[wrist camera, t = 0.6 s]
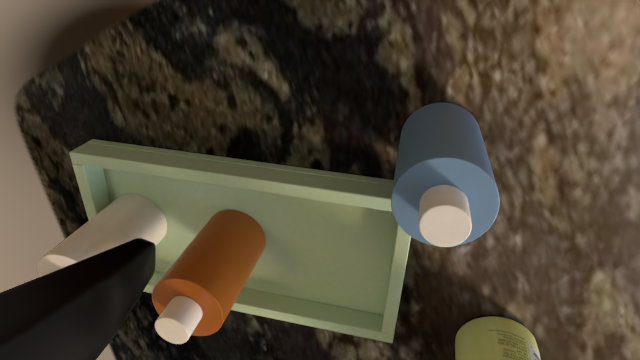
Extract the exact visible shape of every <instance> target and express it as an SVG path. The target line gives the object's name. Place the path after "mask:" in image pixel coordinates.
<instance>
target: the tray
mask: <svg viewBox="0 0 640 360" xmlns="http://www.w3.org/2000/svg"><path fill="white" fill-rule="evenodd" d="M69 154H70V158H71V161H72V163H73V164H72V165H73V169H74V172H75V175H76V179H77V182H78V186H79V189H80V193H81V196H82V199H83V203H84V206H85V210H86V213H87V217H88V220H90V219H92V218H93V217H94V216H95V215H97V214H98V213H99V212H101V211H102V210H103V209H104V208H106V207H107V206H108V205H109V204H111V203H112V202H113V201H115V200H116V199H117V198H118V197H120V196H122V195H124V194H138V195H141V196H144V197H146V198H147V199H149V200H151V201H152V202H153V203H155V204H156V205H157V206H158V207H159V209H160V210H161V211H162V213H163V214H164V216H165V219H166V222H167V232H166V235H165V236H164V238H163V239H162V240H161V241H160V242H159V243H158V244H157V245H156V261H155V271H154V274H153V276H152V278H151V279H150V281H149V283H148V284H147V286H146V287H145V289H144V291H143V292H148V293H152V291H153V289H154V287H155V285H156V284H157V283H158V281H159V280H160V279H161V278H162V277H163V275H164V274H165V273H166V272H167V271H168V269H169V268H170V267H171V266H172V264H173V263H174V262H175V261H176V260H177V258H178V257H179V256H180V255H181V254H182V252H183V251H184V250H185V249H186V248H187V246H188V245H189V244H190V243H191V241H192V240H193V239H194V238H195V237H196V235H197V234H198V233H199V232H200V231H201V229H202V228H203V227H204V226H205V225H206V223H207V222H208V221H209V220H210V218H211V217H212V216H213V215H214V214H216V213H217V212H219V211H222V210H230V209H231V210H238V211H241V212H244V213H246V214H248V215H249V216H251V217H252V218H253V219H255V220H256V221H257V222H258V223H259V225H260V226H261V228H262V229H263V231H264V234H265V238H266V245H265V249H264V251H263V253H262V254H261V256H260V258H259V260H258V261H257V263H256V265H255V267H254V269H253V270H252V272H251V274H250V276H249V278H248V279H247V281H246V283H245V285H244V287H243V288H242V290H241V292H240V294H239V296H238V297H237V299H236V301H235V303H234V305H233V306H232V308H231V310H235V311H239V312H244V313H249V314H254V315H259V316H263V317H268V318H273V319H278V320H283V321H287V322H292V323H297V324H302V325H307V326H312V327H316V328H321V329H326V330H331V331H336V332H340V333H345V334H350V335H355V336H360V337H364V338H369V339H374V340H379V341H384V342H388V343H392V342H393V338H394V332H395V326H396V321H397V315H398V309H399V303H400V298H401V292H402V286H403V280H404V275H405V269H406V263H407V257H408V252H409V246H410V240H411V236H410V235H408V234H407V233H406V232H405V231H404V230H403V229H402V228H401V227H400V226H399V224H398V223H397V221H396V220H395V218H394V215H393V212H392V209H391V194H392V188H393V181H394V180H389V179H381V178H374V177H367V176H360V175H352V174H345V173H338V172H330V171H323V170H316V169H308V168H301V167H294V166H286V165H279V164H272V163H264V162H257V161H250V160H242V159H235V158H228V157H220V156H213V155H206V154H198V153H191V152H184V151H176V150H169V149H162V148H154V147H147V146H140V145H132V144H125V143H118V142H111V141H103V140H96V139H92V140H90V141H88V142H87V143H85V144H83V145H81V146H80V147H78V148H76V149H74V150H72V151H70V152H69Z"/></svg>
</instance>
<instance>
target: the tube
mask: <svg viewBox="0 0 640 360" xmlns="http://www.w3.org/2000/svg"><path fill="white" fill-rule="evenodd" d="M455 359H456V360H541V359H540V355H539V351H538V347H537V343H536V340H535V338H534V336H533V335H532V333H531V332H530V331H529V330H528V329H527V328H526V327H524V326H523V325H521V324H520V323H518V322H516V321H513V320H511V319H508V318H502V317H493V316H488V317H481V318H476V319H473V320H471V321H469V322H467V323H466V324H464V325H463V326H462V327H461V328H460V329H459V331H458V332H457V334H456V338H455Z"/></svg>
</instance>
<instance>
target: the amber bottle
mask: <svg viewBox="0 0 640 360" xmlns="http://www.w3.org/2000/svg"><path fill="white" fill-rule="evenodd" d="M265 245H266V238H265V234H264V231H263V229H262V228H261V226H260V225H259V223H258V222H257V221H256V220H255V219H253V218H252V217H251V216H249V215H248V214H246V213H244V212H241V211H238V210H231V209H230V210H222V211H219V212H217V213H216V214H214V215H213V216H212V217H211V218H210V220H209V221H208V222H207V223H206V225H205V226H204V227H203V228H202V229H201V231H200V232H199V233H198V234H197V235H196V237H195V238H194V239H193V240H192V241H191V243H190V244H189V245H188V246H187V248H186V249H185V250H184V251H183V252H182V254H181V255H180V256H179V257H178V258H177V260H176V261H175V262H174V263H173V264H172V266H171V267H170V268H169V269H168V271H167V272H166V273H165V274H164V275H163V277H162V278H161V279H160V280H159V281H158V283H157V284H156V285H155V287H154V289H153V291H152V301H153V305H154V307H155V309H156V311H157V312H158V314H159V315H160V316H159V317H158V319H157V320H156V322H155V329H156V331H157V333H158V334H159V335H160V336H161V337H162V338H163V339H165V340H166V341H168V342H171V343H174V344H183V343H185V342H187V340H188V339H189V337H190V336H191V335H195V336H207V335H211V334H213V333H215V332H217V331H218V330H219V329H220V328H221V326H222V324H223V323H224V321H225V319H226V317H227V315H228V314H229V312H230V310H231V308H232V306H233V305H234V303H235V301H236V299H237V297H238V296H239V294H240V292H241V290H242V288H243V287H244V285H245V283H246V281H247V279H248V278H249V276H250V274H251V272H252V270H253V269H254V267H255V265H256V263H257V261H258V260H259V258H260V256H261V254H262V253H263V251H264V249H265Z"/></svg>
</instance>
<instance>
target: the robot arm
mask: <svg viewBox="0 0 640 360" xmlns="http://www.w3.org/2000/svg"><path fill="white" fill-rule="evenodd" d="M155 261H156V246H155V244H154V243H153V242H151V241H148V240H145V239H142V238H136V239H133V240H131V241H128V242H126V243H123V244H121V245H118V246H116V247H113V248H111V249H109V250H106V251H104V252H101V253H99V254H96V255H94V256H91V257H89V258H86V259H84V260H81V261H79V262H76V263H74V264H71V265H69V266H66V267H64V268H61V269H59V270H56V271H54V272H51V273H49V274H46V275H44V276H41V277H39V278H36V279H34V280H31V281H29V282H26V283H24V284H22V285H19V286H16V287H14V288H12V289H9V290H6V291H4V292H1V293H0V360H96V359H97V358H98V356H99V355H100V354H101V352H102V351H103V350H104V348H105V347H106V346H107V345H108V344H109V342H110V341H111V340H112V338H113V337H114V336H115V334H116V333H117V332H118V330H119V329H120V327H121V326H122V324H123V323H124V321H125V319H126V318H127V316H128V315H129V313H130V311H131V310H132V308H133V307H134V305H135V303H136V302H137V300H138V299H139V297H140V295H141V294H142V292H143V291H144V289H145V287H146V286H147V284H148V283H149V281H150V279H151V278H152V276H153V274H154V271H155Z"/></svg>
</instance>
